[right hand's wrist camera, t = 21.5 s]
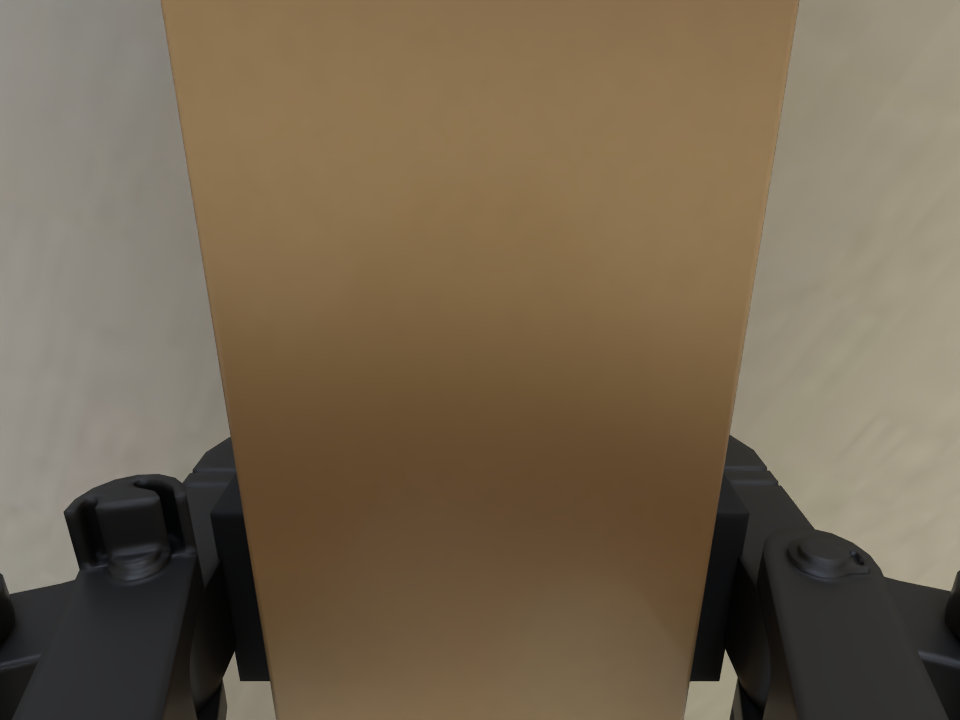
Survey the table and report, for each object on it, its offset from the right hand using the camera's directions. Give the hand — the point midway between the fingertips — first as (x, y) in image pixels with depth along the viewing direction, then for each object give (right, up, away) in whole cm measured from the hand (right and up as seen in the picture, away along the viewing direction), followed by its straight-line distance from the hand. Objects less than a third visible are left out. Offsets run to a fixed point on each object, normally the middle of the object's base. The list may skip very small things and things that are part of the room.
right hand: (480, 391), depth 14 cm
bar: (0, +19, -7) cm, 20 cm away
